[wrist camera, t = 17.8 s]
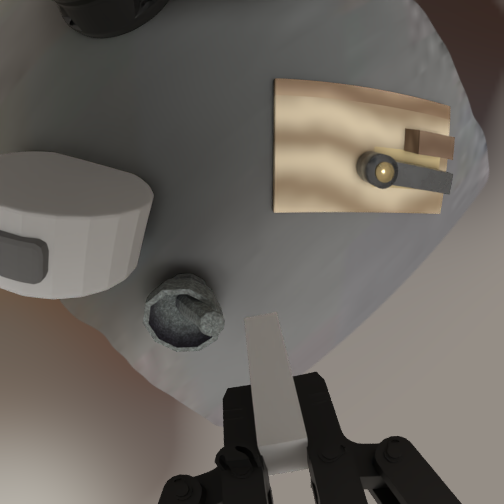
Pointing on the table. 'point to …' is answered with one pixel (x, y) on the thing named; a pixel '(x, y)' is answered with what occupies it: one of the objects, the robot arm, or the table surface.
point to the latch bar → (401, 173)
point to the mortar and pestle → (183, 314)
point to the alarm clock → (68, 224)
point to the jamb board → (352, 146)
